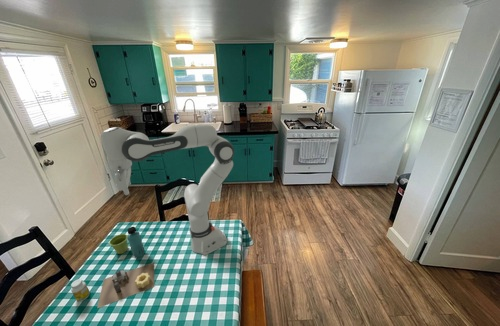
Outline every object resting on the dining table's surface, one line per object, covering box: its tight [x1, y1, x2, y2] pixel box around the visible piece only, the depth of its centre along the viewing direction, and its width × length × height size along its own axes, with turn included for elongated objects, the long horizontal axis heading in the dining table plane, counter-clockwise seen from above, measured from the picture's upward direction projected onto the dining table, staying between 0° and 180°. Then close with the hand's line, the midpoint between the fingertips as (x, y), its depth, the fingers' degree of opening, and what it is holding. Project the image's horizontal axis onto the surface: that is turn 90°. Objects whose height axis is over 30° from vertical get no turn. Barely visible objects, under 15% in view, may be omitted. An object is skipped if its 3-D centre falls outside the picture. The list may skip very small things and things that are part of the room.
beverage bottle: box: [127, 226, 146, 258], centre depth 117 cm, size 6×7×20 cm
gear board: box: [97, 262, 155, 309], centre depth 102 cm, size 24×16×6 cm, turn 115°
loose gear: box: [135, 273, 151, 288], centre depth 102 cm, size 6×6×3 cm
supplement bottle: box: [70, 278, 91, 302], centre depth 97 cm, size 5×5×10 cm
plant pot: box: [108, 233, 129, 255], centre depth 123 cm, size 9×9×9 cm
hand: (128, 189), depth 98 cm, fingers open, 8 cm apart
